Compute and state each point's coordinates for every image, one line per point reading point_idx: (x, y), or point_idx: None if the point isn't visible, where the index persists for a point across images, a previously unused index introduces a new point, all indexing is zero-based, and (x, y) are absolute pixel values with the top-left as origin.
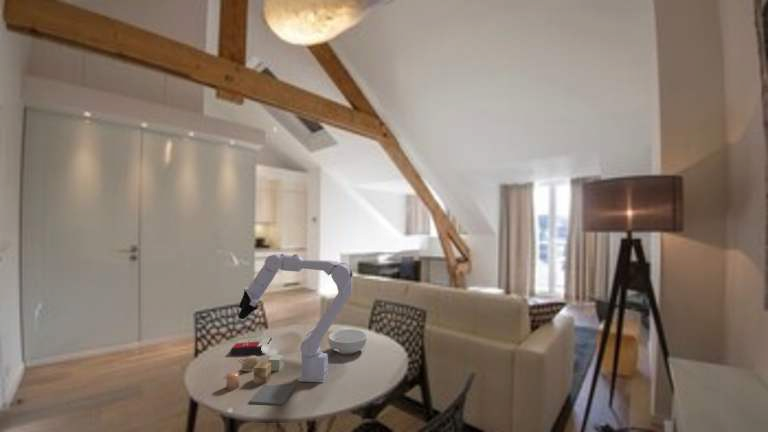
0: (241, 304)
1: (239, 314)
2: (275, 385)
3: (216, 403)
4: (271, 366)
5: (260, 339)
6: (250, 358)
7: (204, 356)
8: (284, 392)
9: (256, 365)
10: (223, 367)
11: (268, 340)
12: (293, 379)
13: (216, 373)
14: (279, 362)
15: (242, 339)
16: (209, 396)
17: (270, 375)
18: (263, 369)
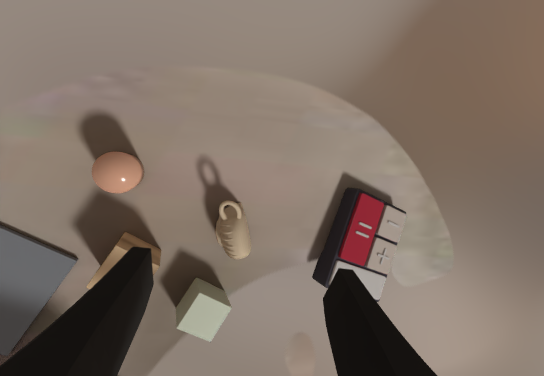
0: (349, 304)
1: (110, 270)
2: (50, 296)
3: (19, 112)
4: (191, 291)
5: (379, 271)
6: (229, 238)
7: (371, 124)
8: None
9: None
10: (280, 161)
11: None
12: None
13: (249, 139)
14: (177, 323)
15: (404, 223)
16: (89, 101)
17: None
18: (94, 276)
